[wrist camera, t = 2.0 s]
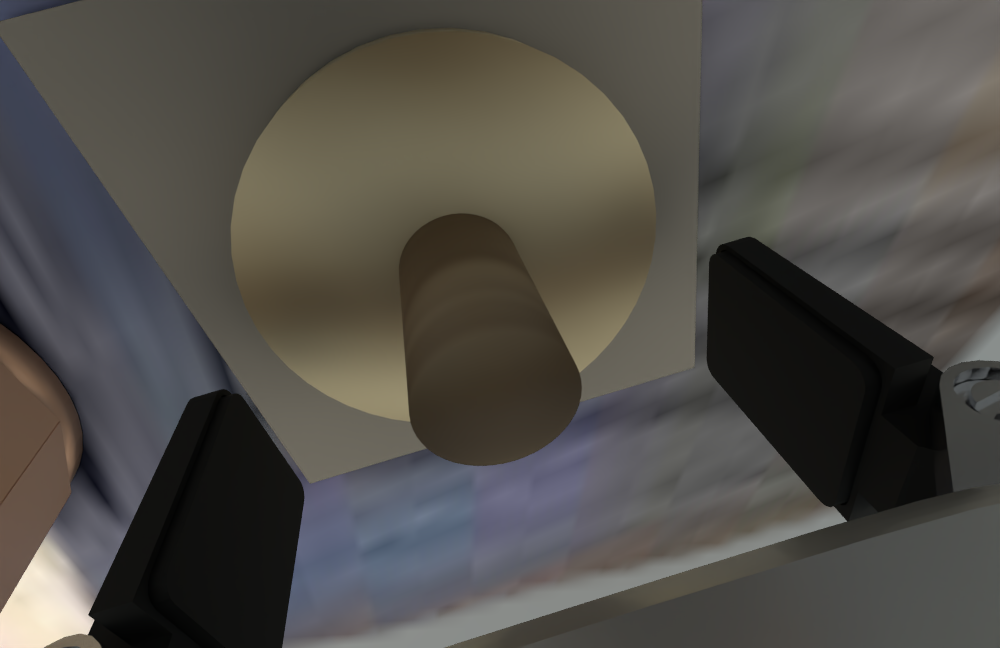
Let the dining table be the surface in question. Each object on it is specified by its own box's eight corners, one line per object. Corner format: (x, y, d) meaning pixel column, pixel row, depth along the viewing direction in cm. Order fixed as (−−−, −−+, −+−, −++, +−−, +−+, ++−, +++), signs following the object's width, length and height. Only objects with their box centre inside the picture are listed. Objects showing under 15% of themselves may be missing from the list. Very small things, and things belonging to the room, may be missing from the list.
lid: (147, 101, 11) (-63, 209, 6) (623, -29, 11) (831, -36, 6) (341, 434, 17) (325, 632, 12) (645, 342, 17) (758, 495, 12)
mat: (10, 20, 10) (-9, 23, 9) (690, -154, 11) (705, -159, 10) (311, 470, 18) (310, 483, 18) (685, 357, 19) (694, 367, 18)
